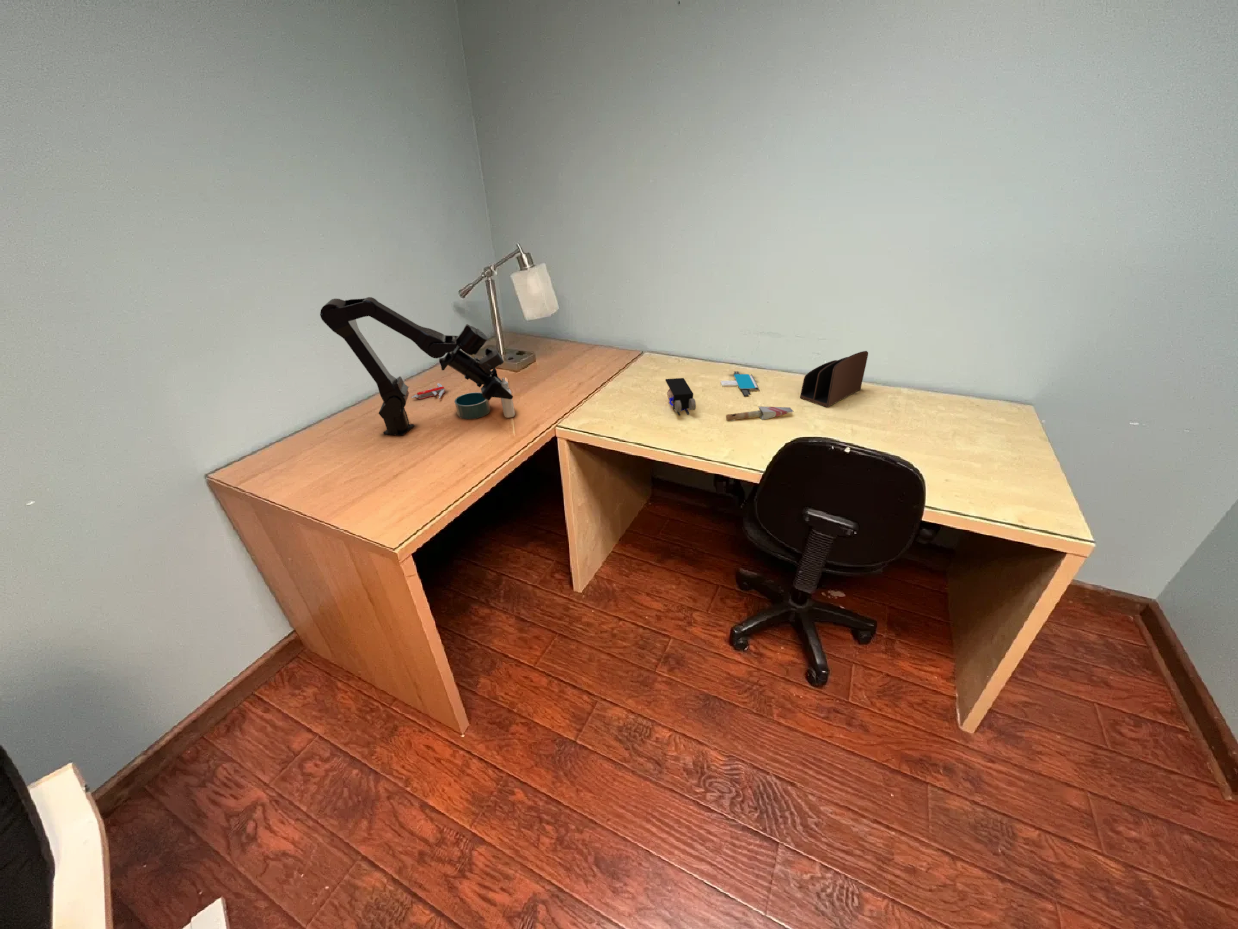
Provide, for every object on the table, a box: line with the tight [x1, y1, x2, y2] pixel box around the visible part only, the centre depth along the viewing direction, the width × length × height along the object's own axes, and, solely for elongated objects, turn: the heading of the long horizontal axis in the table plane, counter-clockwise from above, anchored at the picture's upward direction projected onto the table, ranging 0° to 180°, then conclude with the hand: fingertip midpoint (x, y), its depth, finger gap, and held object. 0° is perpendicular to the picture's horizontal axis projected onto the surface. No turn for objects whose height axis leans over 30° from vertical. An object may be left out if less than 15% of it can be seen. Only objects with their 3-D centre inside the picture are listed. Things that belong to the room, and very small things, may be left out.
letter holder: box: [799, 350, 869, 408], centre depth 155 cm, size 10×20×14 cm, turn 130°
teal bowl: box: [454, 391, 491, 420], centre depth 155 cm, size 10×10×4 cm
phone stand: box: [719, 370, 761, 398], centre depth 167 cm, size 20×12×2 cm, turn 178°
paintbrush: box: [725, 405, 794, 422], centre depth 146 cm, size 4×3×20 cm
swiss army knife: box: [411, 382, 446, 400], centre depth 167 cm, size 12×14×2 cm
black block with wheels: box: [665, 377, 697, 417], centre depth 152 cm, size 7×8×15 cm
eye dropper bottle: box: [500, 377, 516, 419], centre depth 151 cm, size 4×6×12 cm
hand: (510, 394), depth 151 cm, fingers closed on eye dropper bottle, 5 cm apart
